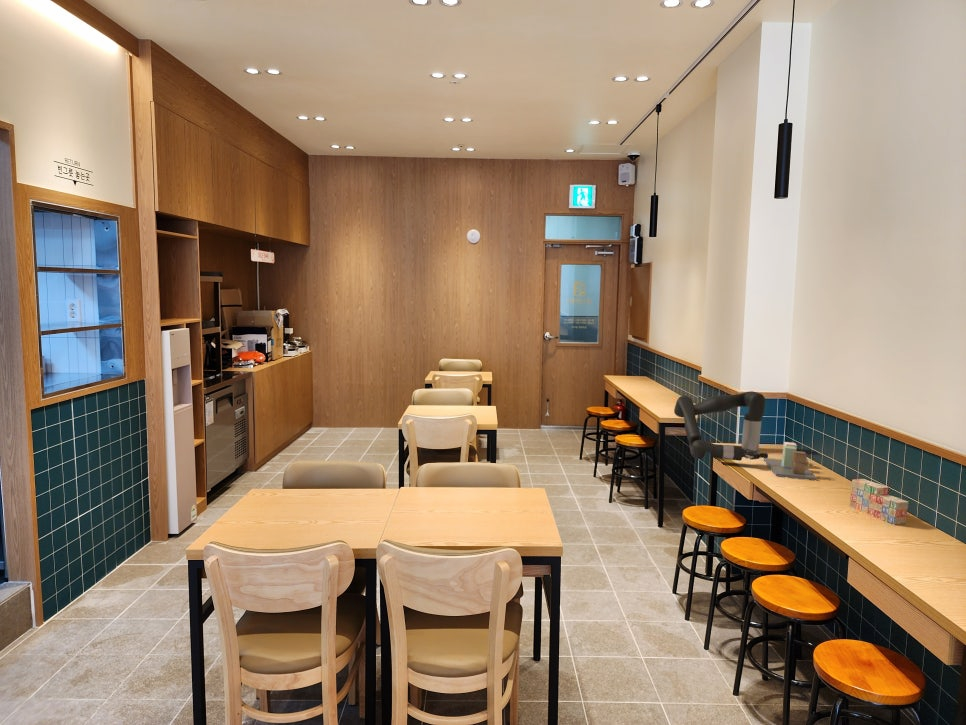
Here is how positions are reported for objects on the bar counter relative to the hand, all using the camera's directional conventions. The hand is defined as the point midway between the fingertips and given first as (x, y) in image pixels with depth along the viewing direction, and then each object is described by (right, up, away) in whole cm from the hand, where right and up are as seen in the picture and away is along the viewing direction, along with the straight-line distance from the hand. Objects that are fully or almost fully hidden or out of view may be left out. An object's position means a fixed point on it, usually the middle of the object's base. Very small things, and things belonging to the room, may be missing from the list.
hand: (767, 455), depth 328 cm
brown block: (+10, -6, -12) cm, 17 cm away
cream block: (+14, -4, +8) cm, 17 cm away
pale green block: (+9, -5, -2) cm, 11 cm away
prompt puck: (+24, -6, +13) cm, 28 cm away
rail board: (+10, -7, -2) cm, 12 cm away
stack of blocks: (+16, -15, -65) cm, 69 cm away
